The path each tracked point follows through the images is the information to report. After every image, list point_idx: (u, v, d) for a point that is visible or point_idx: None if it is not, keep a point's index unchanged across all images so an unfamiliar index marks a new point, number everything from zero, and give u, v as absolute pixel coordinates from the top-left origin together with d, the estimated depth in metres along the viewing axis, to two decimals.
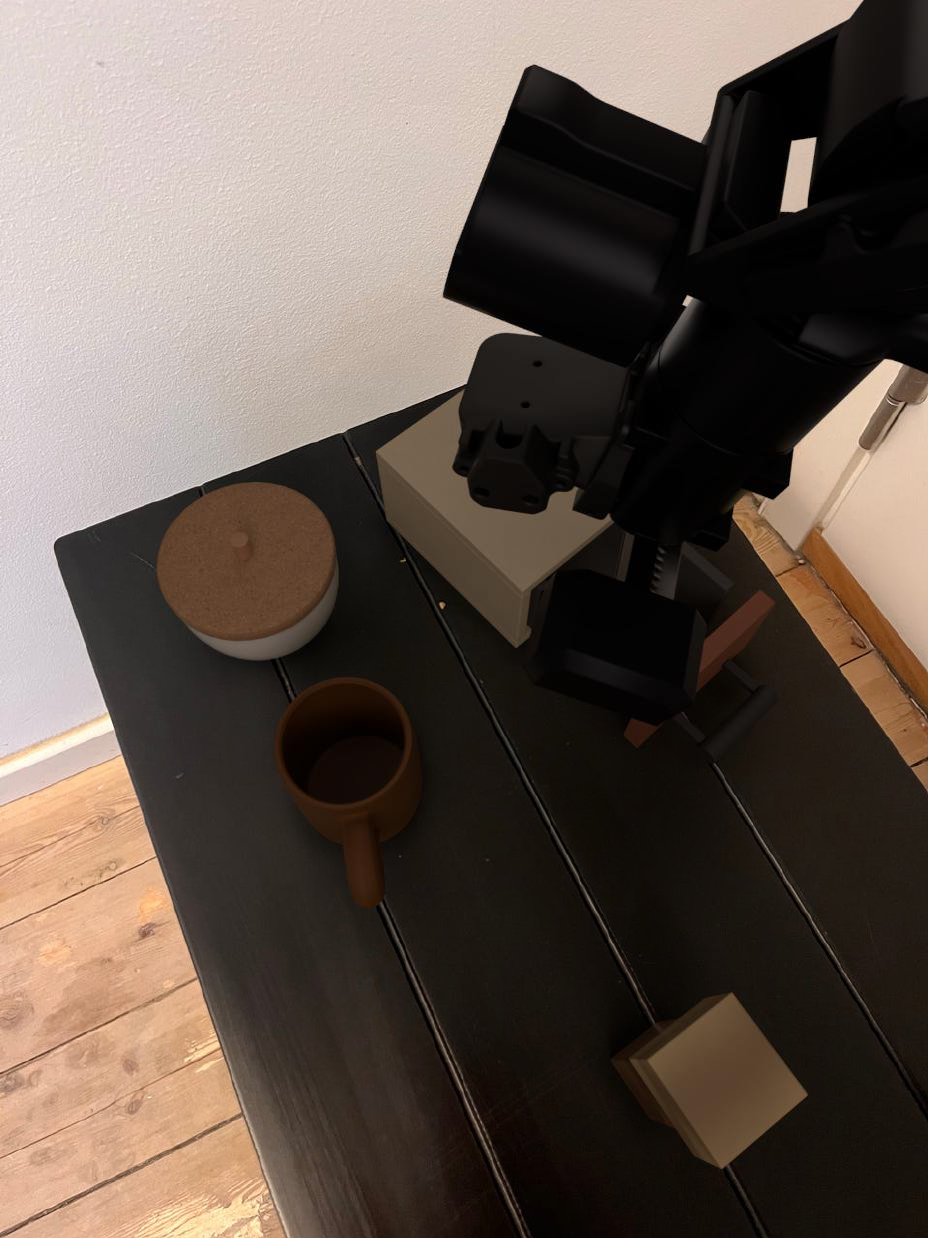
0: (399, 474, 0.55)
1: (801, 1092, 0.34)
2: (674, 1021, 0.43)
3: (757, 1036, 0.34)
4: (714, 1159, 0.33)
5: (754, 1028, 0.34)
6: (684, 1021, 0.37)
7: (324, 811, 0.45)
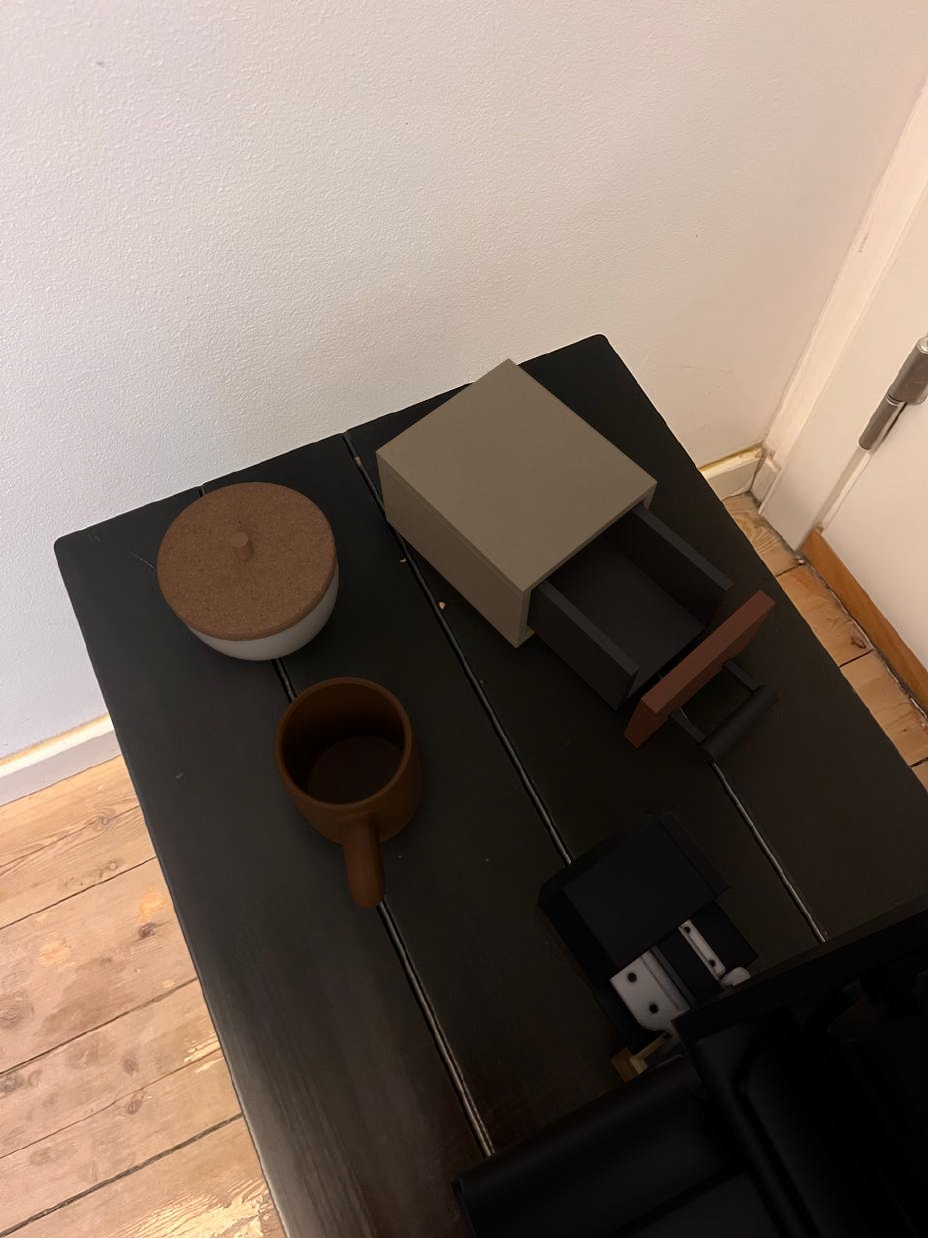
0: (399, 474, 0.55)
1: None
2: None
3: None
4: None
5: None
6: None
7: (324, 811, 0.45)
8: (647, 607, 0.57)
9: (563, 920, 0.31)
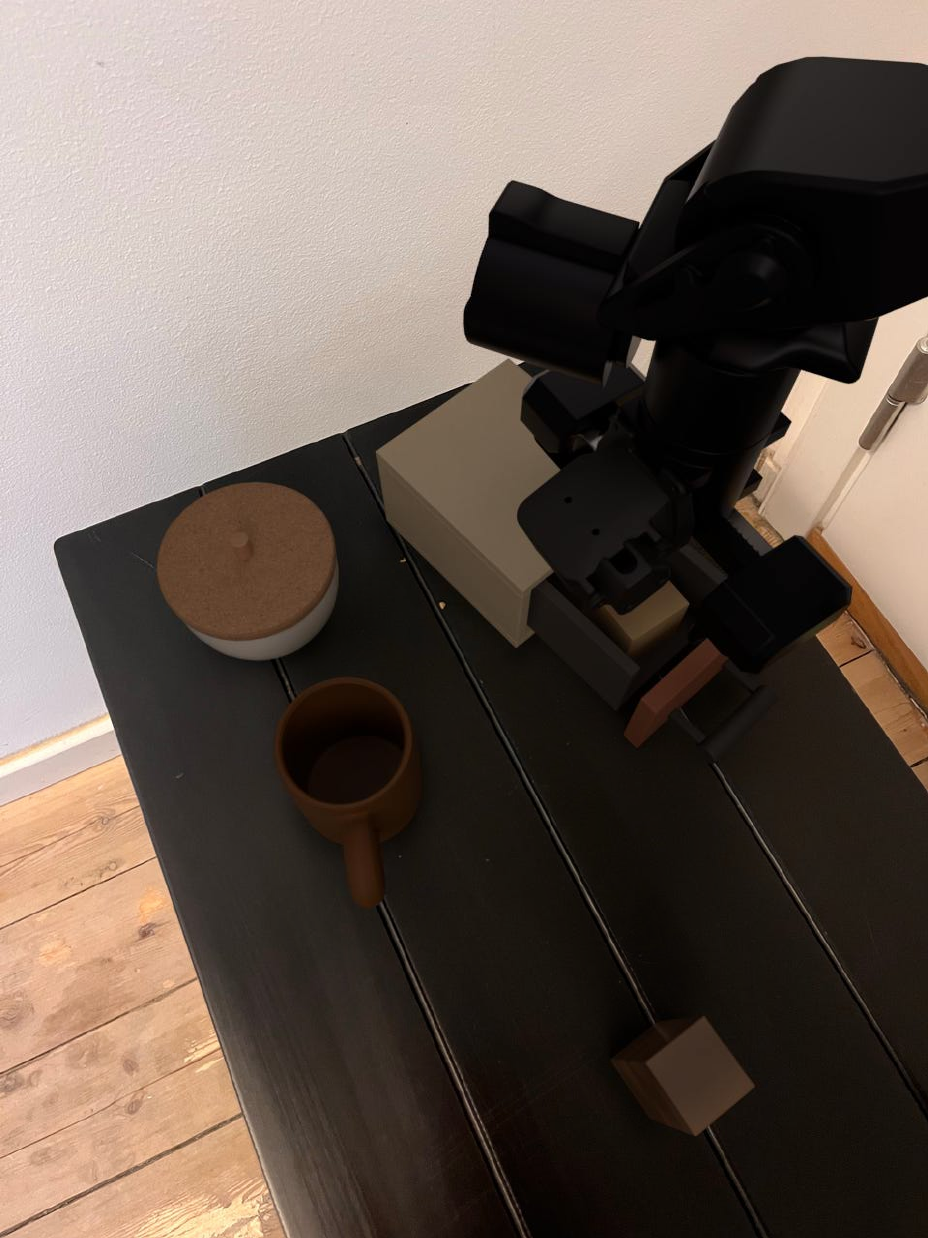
0: (399, 474, 0.55)
1: (685, 602, 0.52)
2: (674, 1021, 0.43)
3: None
4: (628, 636, 0.52)
5: None
6: None
7: (324, 811, 0.45)
8: None
9: (538, 400, 0.45)
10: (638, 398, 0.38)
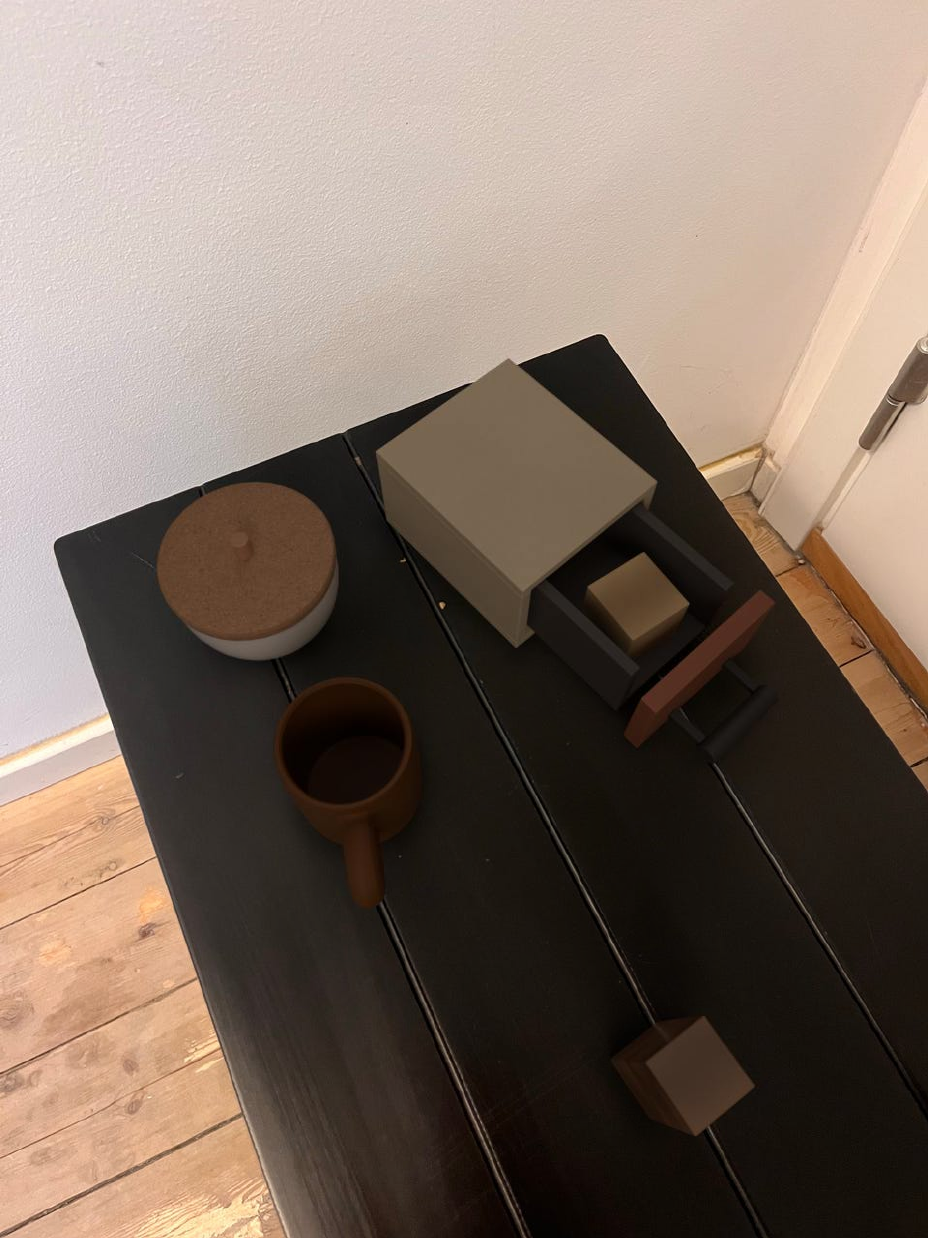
0: (399, 474, 0.55)
1: (685, 602, 0.52)
2: (674, 1021, 0.43)
3: (659, 574, 0.53)
4: (628, 636, 0.52)
5: (657, 569, 0.53)
6: None
7: (324, 811, 0.45)
8: None
9: None
10: None
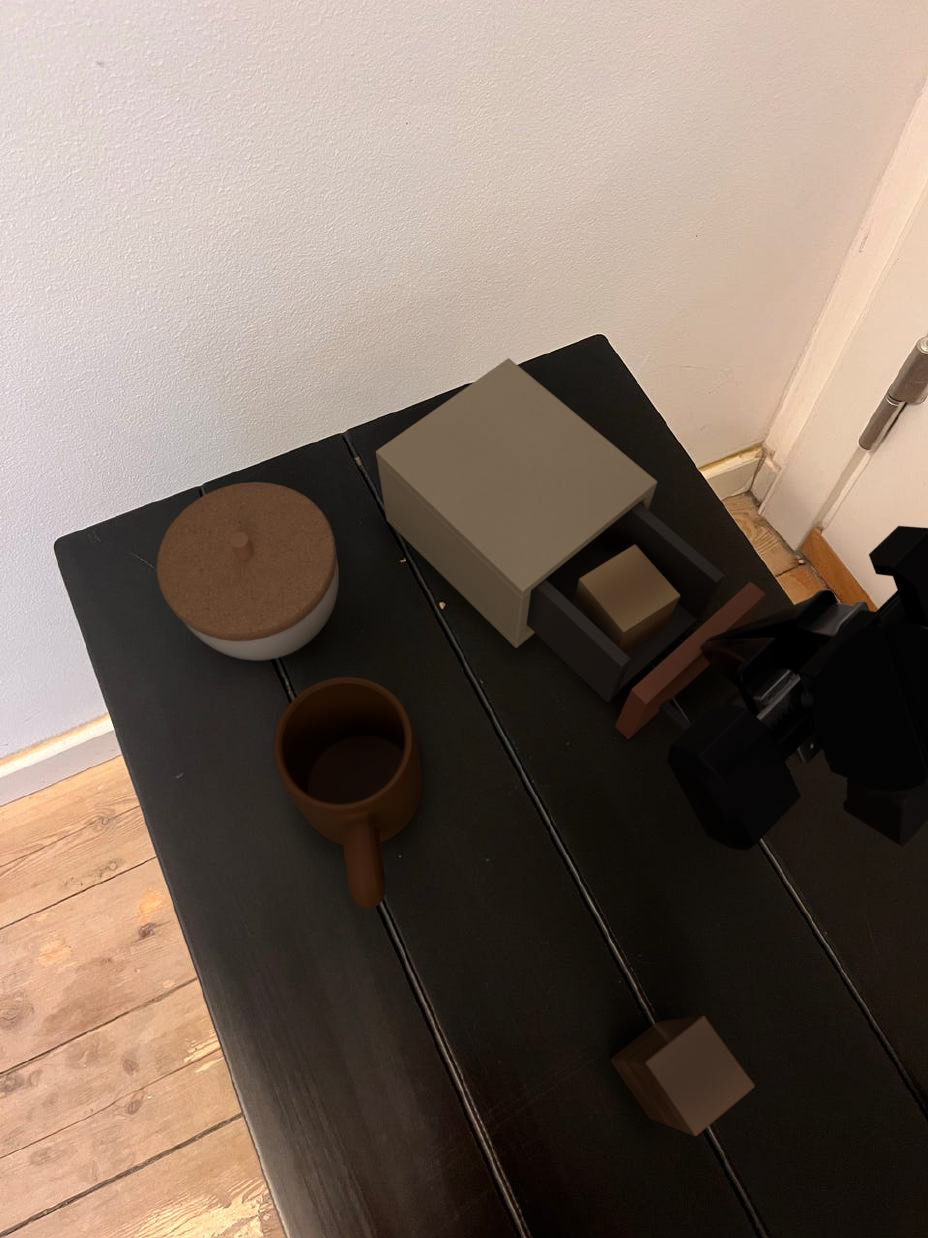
0: (399, 474, 0.55)
1: (676, 594, 0.53)
2: (674, 1021, 0.43)
3: (650, 566, 0.54)
4: (619, 628, 0.52)
5: (648, 562, 0.54)
6: None
7: (324, 811, 0.45)
8: None
9: None
10: None
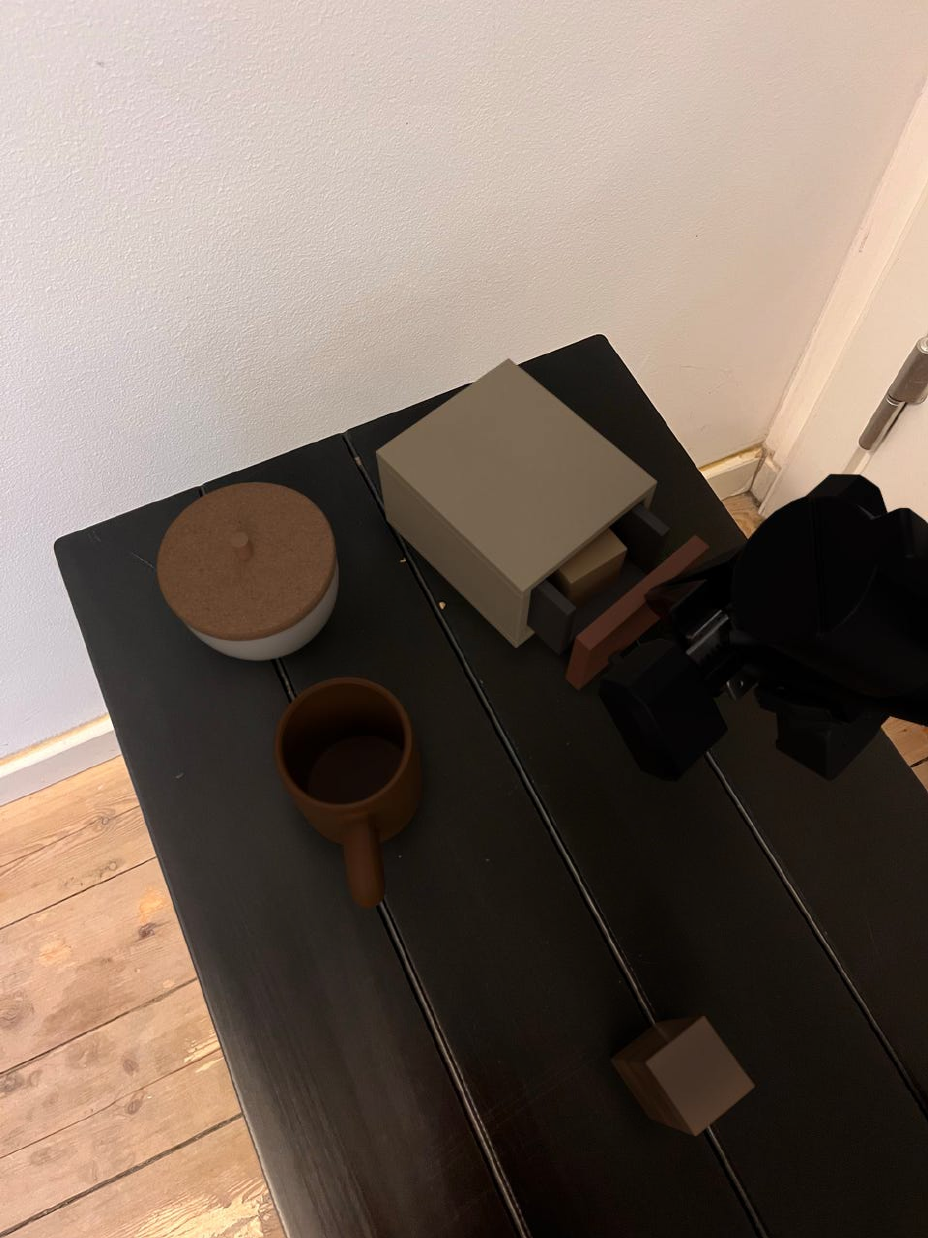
0: (399, 474, 0.55)
1: (623, 547, 0.54)
2: (674, 1021, 0.43)
3: None
4: (567, 580, 0.53)
5: None
6: None
7: (324, 811, 0.45)
8: None
9: None
10: (846, 705, 0.39)
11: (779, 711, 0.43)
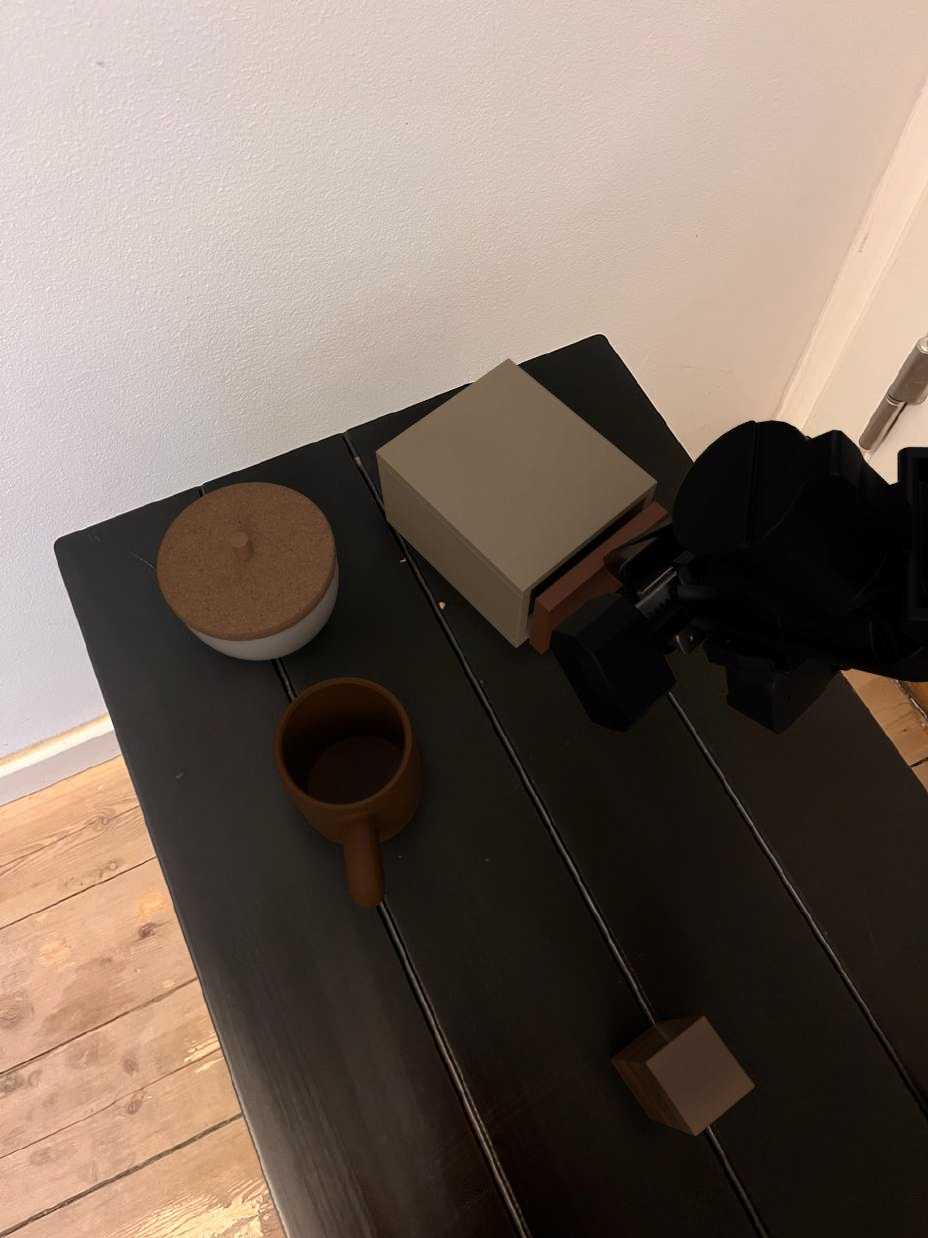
0: (399, 474, 0.55)
1: None
2: (674, 1021, 0.43)
3: None
4: None
5: None
6: None
7: (324, 811, 0.45)
8: None
9: (640, 717, 0.43)
10: (787, 654, 0.40)
11: (726, 664, 0.44)
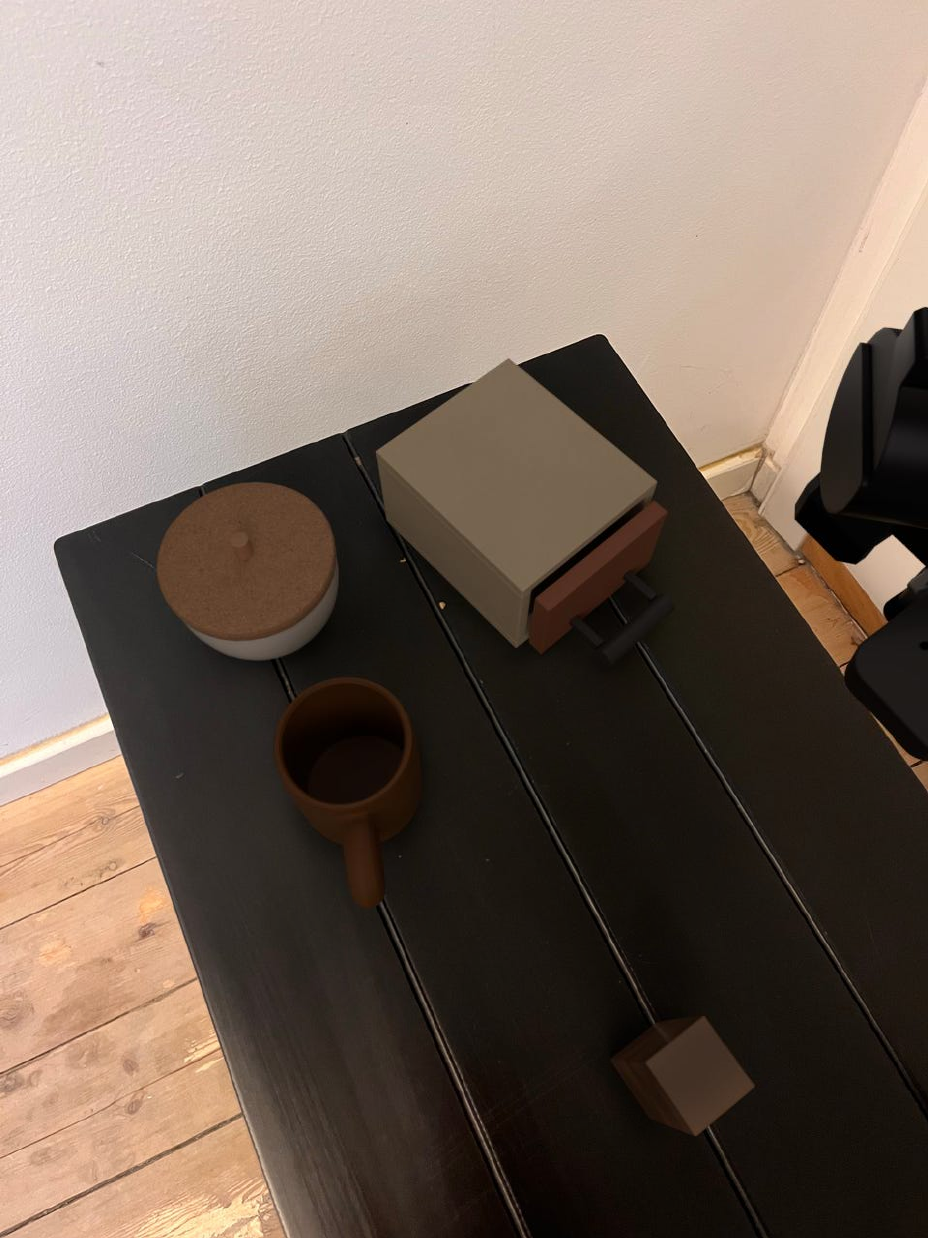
0: (399, 474, 0.55)
1: None
2: (674, 1021, 0.43)
3: None
4: None
5: None
6: None
7: (324, 811, 0.45)
8: None
9: None
10: None
11: None
